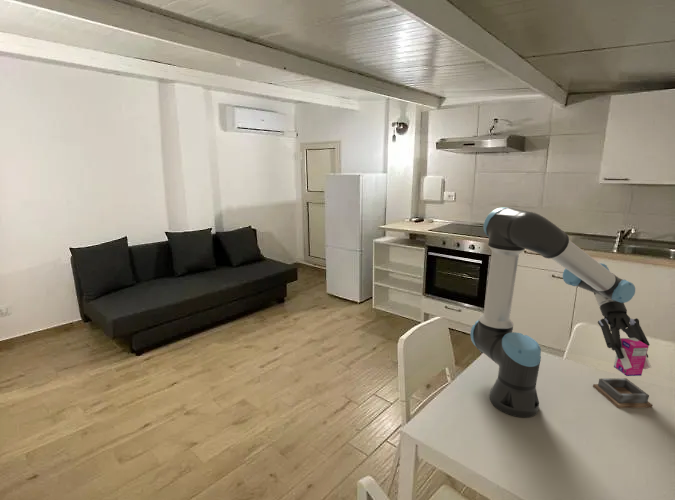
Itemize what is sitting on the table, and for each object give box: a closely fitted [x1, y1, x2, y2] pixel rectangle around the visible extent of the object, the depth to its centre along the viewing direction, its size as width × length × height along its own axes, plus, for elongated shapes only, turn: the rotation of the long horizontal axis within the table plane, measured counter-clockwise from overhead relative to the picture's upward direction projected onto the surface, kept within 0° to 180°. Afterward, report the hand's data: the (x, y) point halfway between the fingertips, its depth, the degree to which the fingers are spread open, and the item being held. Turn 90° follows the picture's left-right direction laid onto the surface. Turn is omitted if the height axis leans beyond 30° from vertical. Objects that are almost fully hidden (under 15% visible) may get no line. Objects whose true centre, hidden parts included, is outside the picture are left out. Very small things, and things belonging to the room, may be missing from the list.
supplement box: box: [613, 337, 650, 377], centre depth 129 cm, size 6×6×12 cm
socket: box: [592, 377, 653, 409], centre depth 132 cm, size 12×12×4 cm
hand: (637, 368), depth 126 cm, fingers closed on supplement box, 6 cm apart
